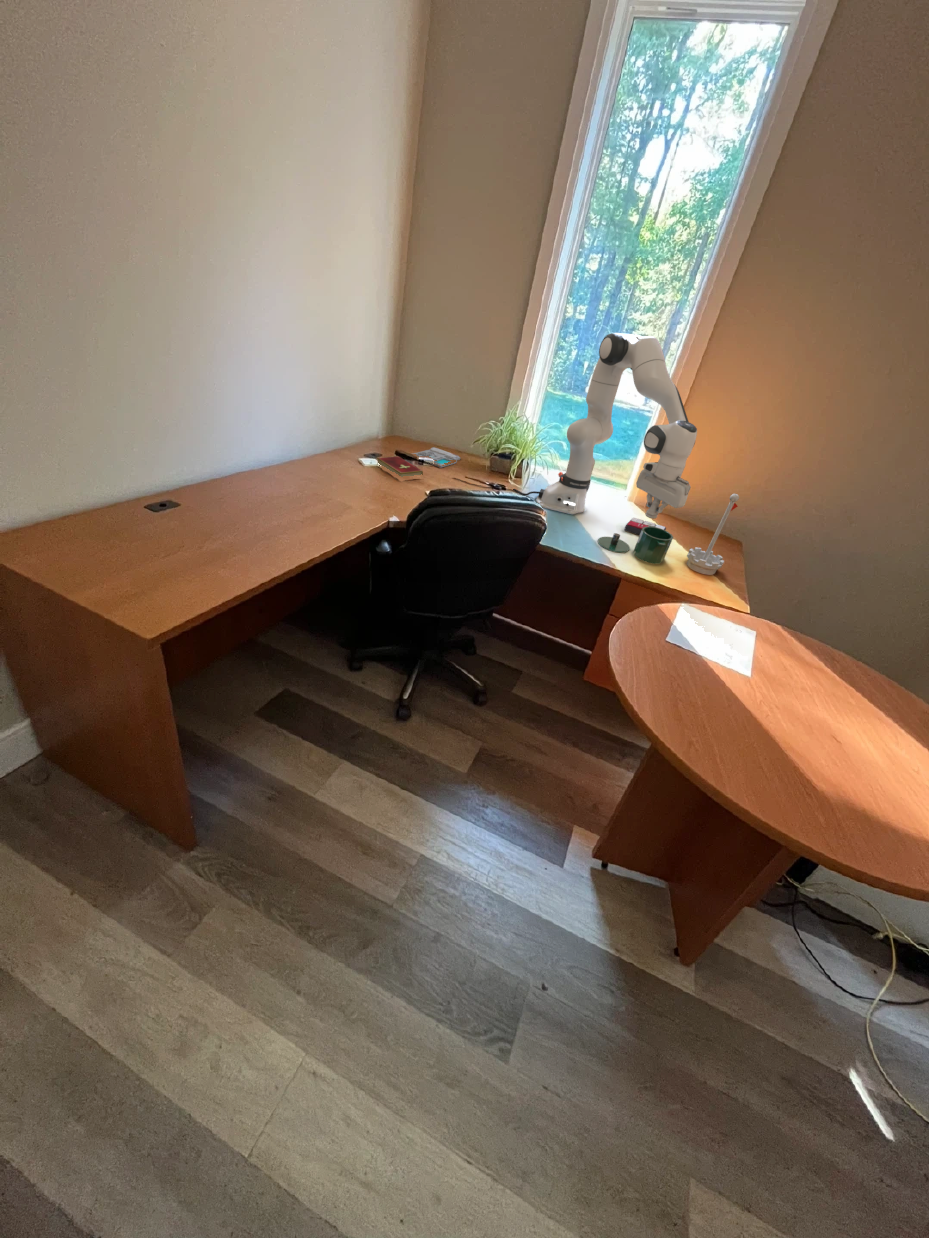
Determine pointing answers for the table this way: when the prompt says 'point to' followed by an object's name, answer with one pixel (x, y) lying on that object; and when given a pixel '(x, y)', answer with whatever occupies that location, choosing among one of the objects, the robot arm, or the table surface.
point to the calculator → (639, 526)
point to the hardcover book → (399, 466)
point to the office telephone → (439, 456)
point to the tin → (652, 544)
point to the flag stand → (710, 548)
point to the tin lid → (613, 543)
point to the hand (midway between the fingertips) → (653, 509)
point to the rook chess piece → (653, 509)
